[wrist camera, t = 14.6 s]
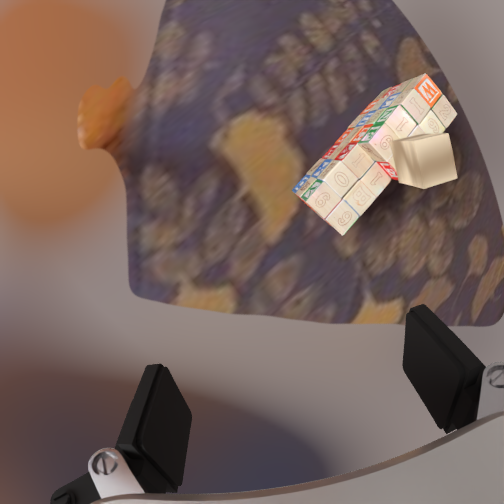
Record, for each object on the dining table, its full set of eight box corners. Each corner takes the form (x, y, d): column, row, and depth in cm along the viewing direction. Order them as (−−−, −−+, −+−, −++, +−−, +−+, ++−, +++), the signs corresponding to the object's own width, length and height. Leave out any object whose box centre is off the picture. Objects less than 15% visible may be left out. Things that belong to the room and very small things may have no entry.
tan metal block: (389, 141, 27) (413, 141, 22) (421, 133, 26) (448, 133, 22) (399, 182, 28) (424, 189, 23) (430, 173, 28) (457, 178, 23)
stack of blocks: (322, 219, 42) (350, 245, 30) (290, 190, 40) (309, 205, 29) (410, 119, 37) (459, 113, 25) (383, 88, 36) (427, 72, 24)
